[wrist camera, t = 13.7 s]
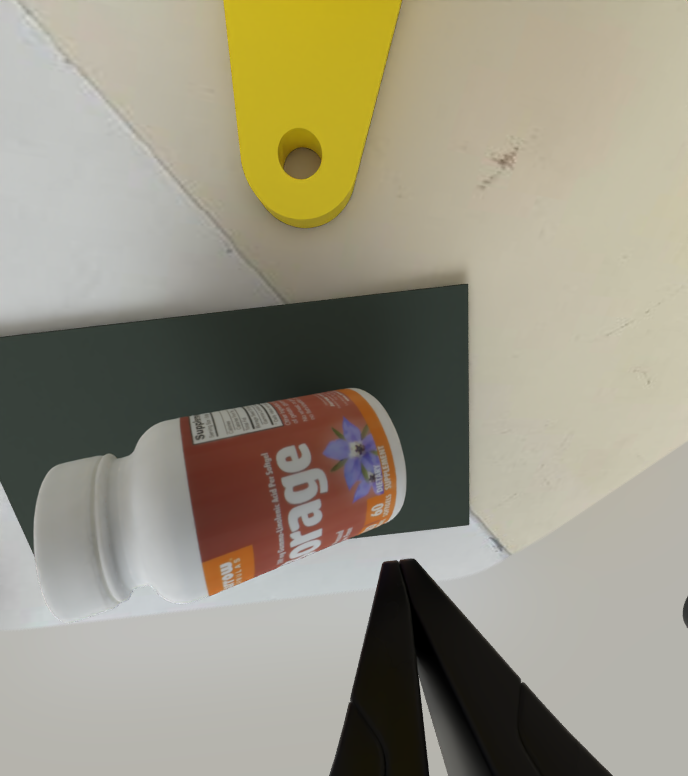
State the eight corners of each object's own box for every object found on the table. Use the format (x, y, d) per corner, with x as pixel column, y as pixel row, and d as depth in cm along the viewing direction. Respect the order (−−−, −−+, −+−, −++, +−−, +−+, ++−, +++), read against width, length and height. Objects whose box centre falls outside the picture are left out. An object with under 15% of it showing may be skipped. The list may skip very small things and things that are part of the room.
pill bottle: (411, 550, 13) (68, 719, 8) (341, 477, 18) (107, 554, 13) (415, 406, 11) (-21, 512, 6) (337, 372, 16) (64, 416, 12)
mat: (463, 284, 16) (468, 283, 16) (465, 518, 20) (469, 525, 19) (-49, 342, 16) (-63, 344, 16) (50, 566, 20) (42, 574, 19)
